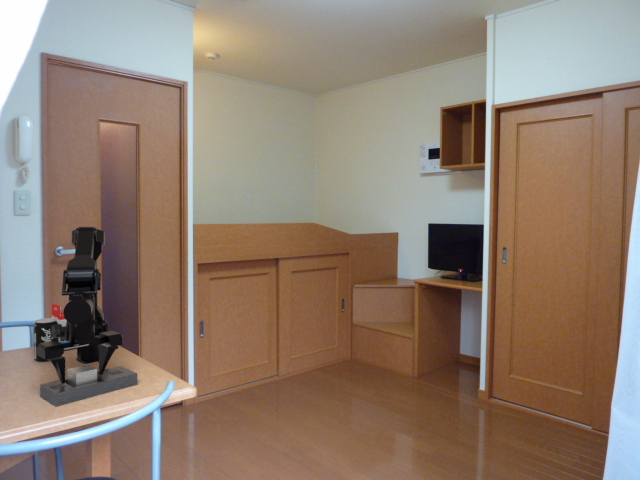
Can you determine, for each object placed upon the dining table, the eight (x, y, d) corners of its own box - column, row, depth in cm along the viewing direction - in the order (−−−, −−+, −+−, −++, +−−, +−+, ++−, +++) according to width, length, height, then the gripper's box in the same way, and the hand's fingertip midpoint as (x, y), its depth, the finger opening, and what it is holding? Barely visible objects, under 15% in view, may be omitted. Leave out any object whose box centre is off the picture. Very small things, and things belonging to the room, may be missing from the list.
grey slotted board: (120, 376, 132) (120, 365, 132) (137, 384, 126) (137, 373, 126) (40, 396, 117) (40, 384, 117) (55, 406, 111) (55, 393, 111)
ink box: (76, 348, 159) (76, 304, 158) (60, 351, 156) (60, 306, 155) (66, 343, 165) (66, 300, 164) (51, 346, 161) (50, 302, 161)
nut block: (88, 387, 123) (87, 364, 123) (97, 392, 120) (97, 368, 120) (67, 393, 120) (67, 369, 119) (76, 398, 116) (76, 373, 116)
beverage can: (63, 357, 149) (63, 318, 148) (45, 363, 143) (44, 323, 142) (47, 355, 151) (47, 317, 151) (28, 361, 145) (28, 321, 144)
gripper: (103, 306, 131) (104, 363, 132) (27, 316, 117) (28, 380, 118) (124, 312, 124) (124, 372, 125) (45, 323, 110) (46, 391, 111)
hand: (82, 378), depth 120 cm, fingers open, 9 cm apart
